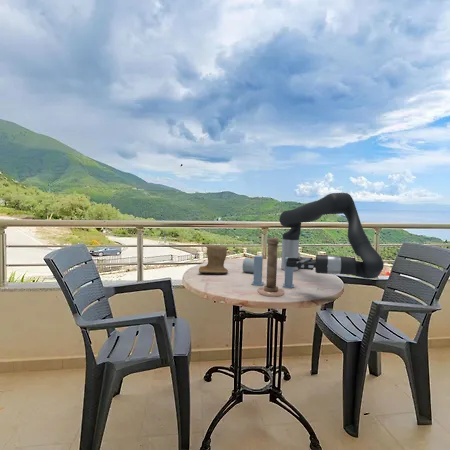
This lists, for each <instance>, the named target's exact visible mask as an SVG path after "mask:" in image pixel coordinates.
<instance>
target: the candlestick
mask: <svg viewBox="0 0 450 450" xmlns="http://www.w3.org/2000/svg"><path fill="white" fill-rule="evenodd" d="M279 242H280V238H279V237H267V238H266V243H267V260H266V261H267V262H266V284H265V285H263V287H264V291H266V292H278V288H279V286H277V268H278V247H279V246H278V245H279Z"/></svg>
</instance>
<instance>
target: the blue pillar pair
mask: <svg viewBox="0 0 450 450" xmlns="http://www.w3.org/2000/svg"><path fill="white" fill-rule="evenodd" d="M263 256H264V255H254V257H253V259H254V273H253V280H252V282H251V285H252V286H259V287H260V286H261V287H264V283H265V282H264V281H263V262H264V261H263V259H264V257H263ZM287 258H291V257H286V258H285V270H284V283H282V288H285V289H295V284H294V283H293V280H294V271H293V267H287V266H286V262H287Z"/></svg>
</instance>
